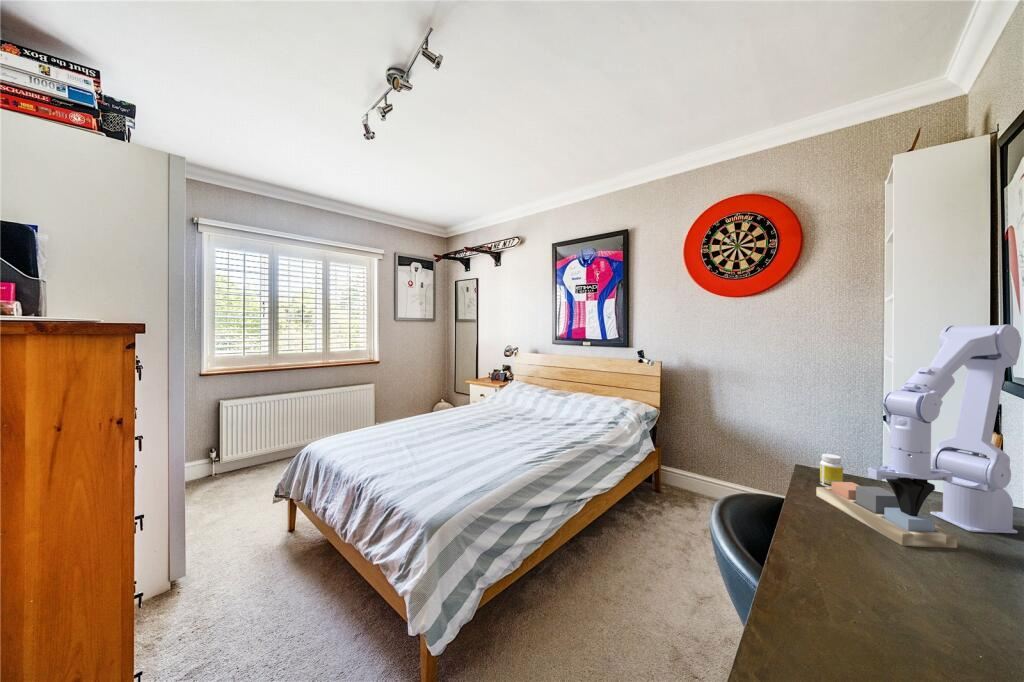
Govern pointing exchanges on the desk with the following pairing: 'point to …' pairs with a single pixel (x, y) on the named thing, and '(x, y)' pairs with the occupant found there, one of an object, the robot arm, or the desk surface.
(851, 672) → the desk surface
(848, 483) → the button terracotta
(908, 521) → the light blue block
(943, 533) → the board
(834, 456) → the supplement bottle
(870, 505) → the grey block
